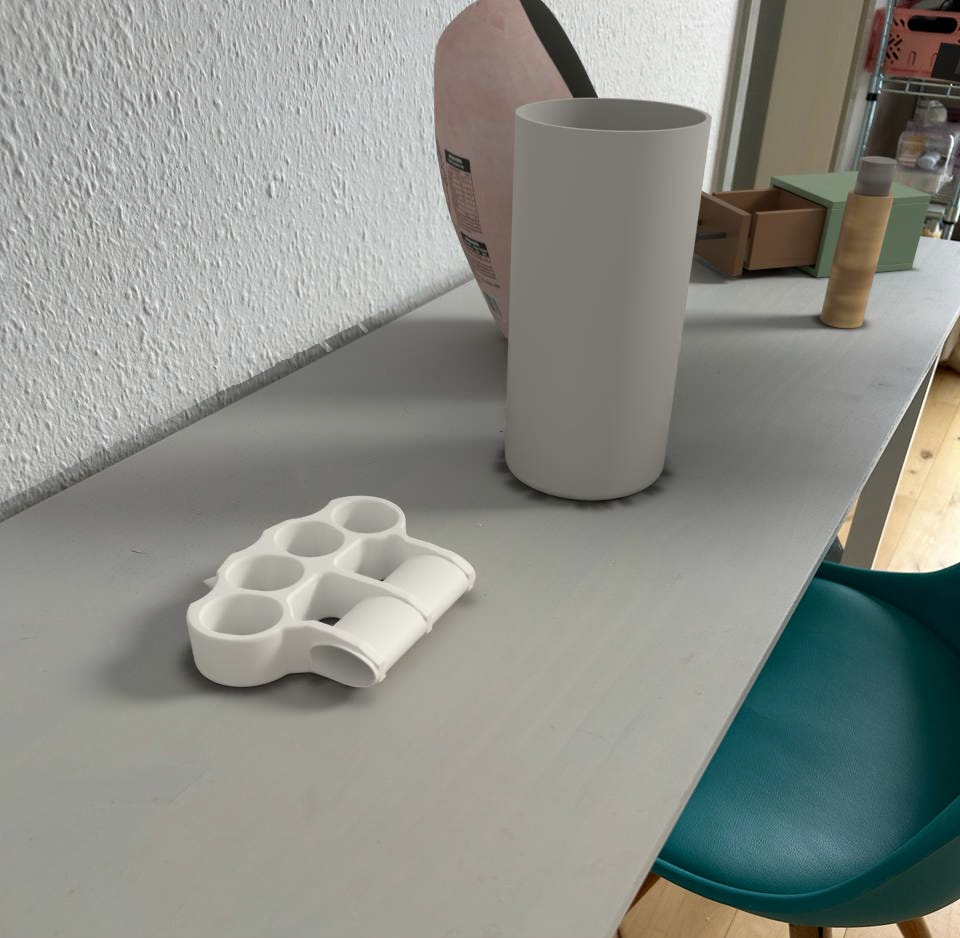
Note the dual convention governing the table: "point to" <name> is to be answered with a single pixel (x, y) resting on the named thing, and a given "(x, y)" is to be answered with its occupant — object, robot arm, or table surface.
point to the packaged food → (494, 122)
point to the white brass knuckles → (324, 598)
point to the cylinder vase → (599, 289)
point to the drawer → (758, 229)
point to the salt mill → (859, 243)
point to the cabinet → (833, 194)
